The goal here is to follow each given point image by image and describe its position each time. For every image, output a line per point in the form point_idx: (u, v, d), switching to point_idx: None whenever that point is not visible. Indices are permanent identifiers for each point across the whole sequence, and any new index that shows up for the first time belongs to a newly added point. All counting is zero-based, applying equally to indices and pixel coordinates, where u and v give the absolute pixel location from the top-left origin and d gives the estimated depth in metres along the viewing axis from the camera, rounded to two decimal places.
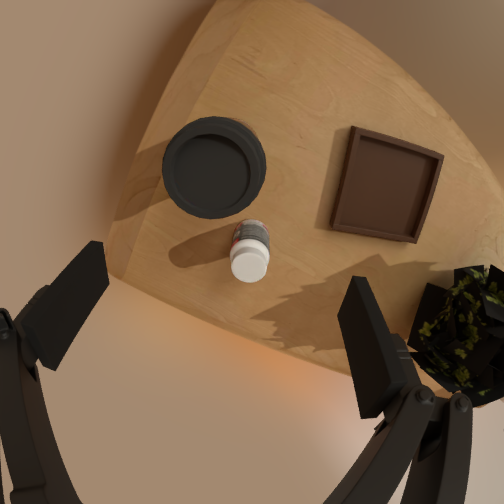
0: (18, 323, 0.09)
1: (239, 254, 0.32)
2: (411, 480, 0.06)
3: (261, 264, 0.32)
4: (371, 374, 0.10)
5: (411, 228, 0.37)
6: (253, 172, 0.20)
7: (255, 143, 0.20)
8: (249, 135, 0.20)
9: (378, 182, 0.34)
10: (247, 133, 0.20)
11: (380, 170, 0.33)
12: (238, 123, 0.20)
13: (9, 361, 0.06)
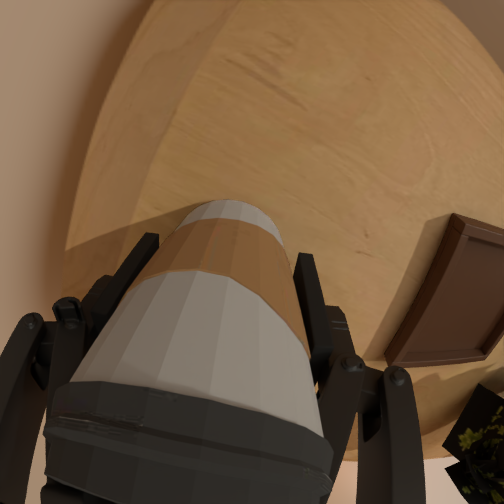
0: None
1: None
2: (362, 462, 0.07)
3: None
4: None
5: (483, 341, 0.21)
6: None
7: (317, 484, 0.04)
8: (301, 479, 0.04)
9: (466, 297, 0.18)
10: (294, 478, 0.04)
11: (474, 281, 0.18)
12: (257, 425, 0.04)
13: (72, 354, 0.08)
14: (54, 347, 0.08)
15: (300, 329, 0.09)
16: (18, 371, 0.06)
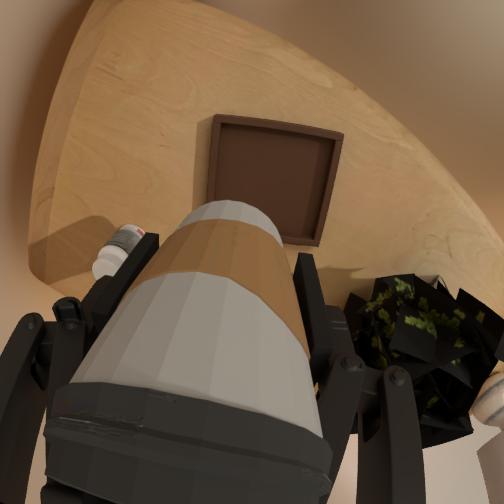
0: None
1: None
2: (362, 462, 0.07)
3: (115, 271, 0.29)
4: None
5: (312, 228, 0.34)
6: None
7: (316, 484, 0.04)
8: (300, 480, 0.04)
9: (256, 175, 0.31)
10: (293, 478, 0.04)
11: (256, 160, 0.30)
12: (256, 426, 0.05)
13: (72, 354, 0.08)
14: (54, 347, 0.08)
15: (299, 330, 0.09)
16: (18, 371, 0.06)
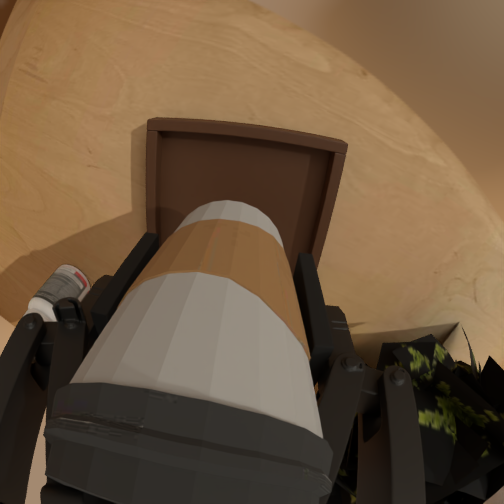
0: None
1: None
2: (362, 462, 0.07)
3: None
4: None
5: None
6: None
7: (316, 485, 0.04)
8: (300, 480, 0.04)
9: None
10: (293, 478, 0.04)
11: (215, 185, 0.21)
12: (257, 427, 0.05)
13: (72, 354, 0.08)
14: (54, 347, 0.08)
15: (300, 330, 0.09)
16: (18, 371, 0.06)
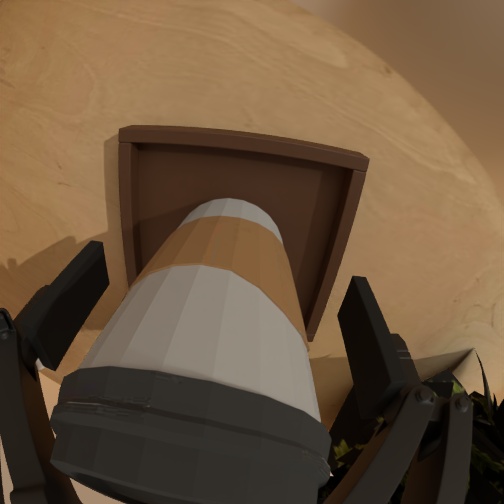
0: (18, 323, 0.09)
1: None
2: (411, 480, 0.06)
3: None
4: (371, 374, 0.10)
5: (303, 313, 0.21)
6: None
7: (315, 467, 0.05)
8: (299, 461, 0.05)
9: None
10: (293, 459, 0.04)
11: None
12: (257, 407, 0.05)
13: (9, 361, 0.06)
14: None
15: (299, 321, 0.09)
16: None
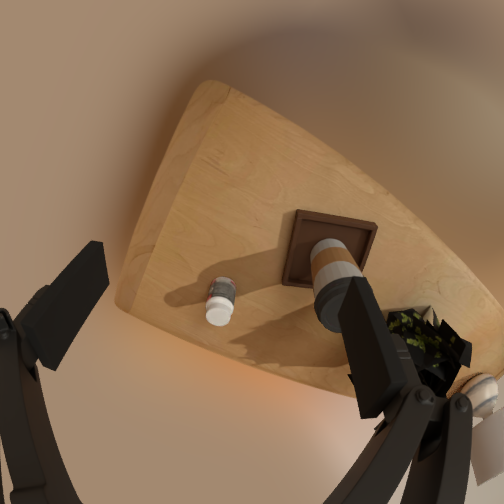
0: (18, 323, 0.09)
1: (210, 308, 0.45)
2: (411, 480, 0.06)
3: (226, 315, 0.45)
4: (371, 374, 0.10)
5: None
6: None
7: None
8: None
9: None
10: None
11: None
12: None
13: (9, 361, 0.06)
14: None
15: None
16: None
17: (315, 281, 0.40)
